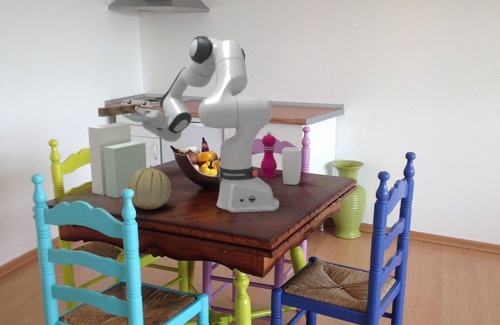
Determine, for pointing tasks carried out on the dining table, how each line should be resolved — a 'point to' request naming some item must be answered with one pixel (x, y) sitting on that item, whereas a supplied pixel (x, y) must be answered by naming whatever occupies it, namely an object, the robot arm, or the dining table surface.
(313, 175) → the dining table surface
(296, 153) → the cup
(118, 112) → the walnut bar
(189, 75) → the robot arm
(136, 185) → the cantaloupe
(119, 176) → the pale green block
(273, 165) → the pepper mill
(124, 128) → the tall stand
